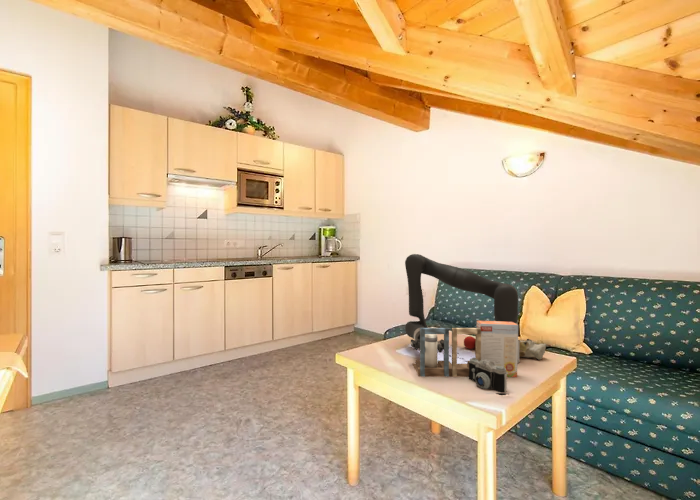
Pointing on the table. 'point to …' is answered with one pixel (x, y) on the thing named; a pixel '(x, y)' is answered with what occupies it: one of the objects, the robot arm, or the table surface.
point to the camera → (488, 375)
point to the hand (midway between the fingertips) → (432, 349)
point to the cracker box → (500, 344)
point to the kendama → (470, 342)
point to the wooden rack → (447, 353)
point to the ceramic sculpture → (531, 349)
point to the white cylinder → (431, 350)
